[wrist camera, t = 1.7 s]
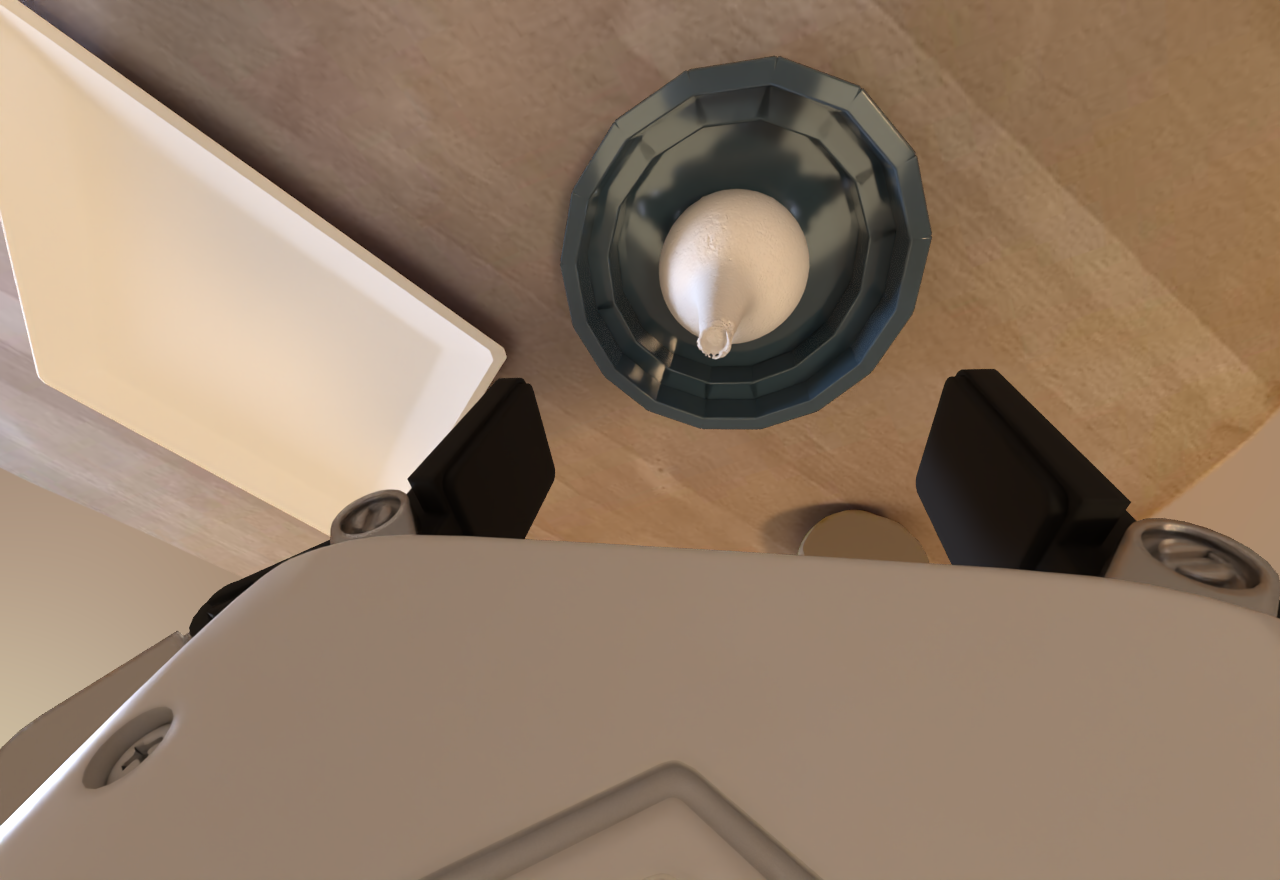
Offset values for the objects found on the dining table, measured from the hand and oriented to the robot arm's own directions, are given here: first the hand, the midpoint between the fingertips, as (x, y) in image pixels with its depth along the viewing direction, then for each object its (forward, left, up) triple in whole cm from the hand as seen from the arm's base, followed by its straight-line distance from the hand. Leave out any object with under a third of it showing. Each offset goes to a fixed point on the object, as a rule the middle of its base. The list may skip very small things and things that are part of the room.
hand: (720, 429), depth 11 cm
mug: (+20, +8, -14) cm, 25 cm away
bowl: (0, 0, -13) cm, 13 cm away
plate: (+4, -30, -14) cm, 33 cm away
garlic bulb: (0, 0, -13) cm, 13 cm away
